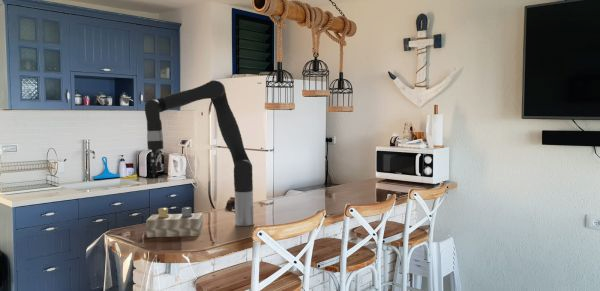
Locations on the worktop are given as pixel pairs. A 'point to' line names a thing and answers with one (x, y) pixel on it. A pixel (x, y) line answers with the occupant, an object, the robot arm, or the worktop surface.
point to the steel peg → (186, 212)
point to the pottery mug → (230, 204)
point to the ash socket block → (174, 225)
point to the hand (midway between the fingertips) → (156, 172)
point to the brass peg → (163, 212)
